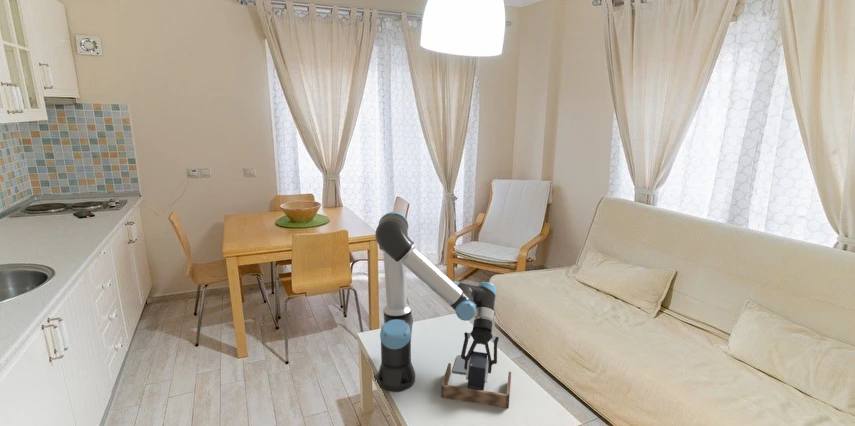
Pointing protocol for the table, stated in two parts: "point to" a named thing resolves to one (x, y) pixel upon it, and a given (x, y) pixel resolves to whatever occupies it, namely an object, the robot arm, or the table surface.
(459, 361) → the rubber mat
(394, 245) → the robot arm
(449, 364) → the walnut bay
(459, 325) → the table surface
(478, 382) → the small box
